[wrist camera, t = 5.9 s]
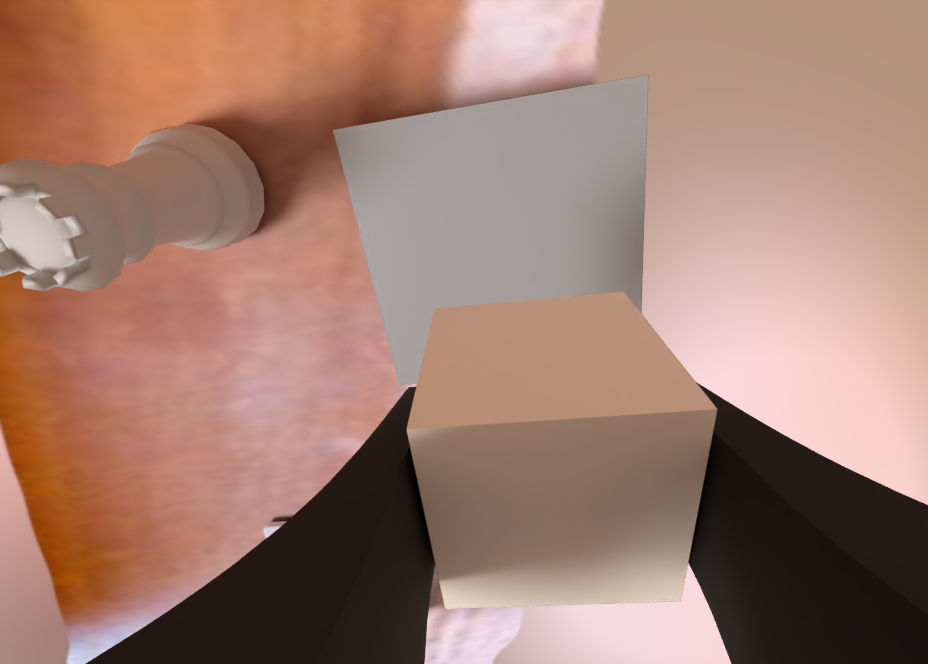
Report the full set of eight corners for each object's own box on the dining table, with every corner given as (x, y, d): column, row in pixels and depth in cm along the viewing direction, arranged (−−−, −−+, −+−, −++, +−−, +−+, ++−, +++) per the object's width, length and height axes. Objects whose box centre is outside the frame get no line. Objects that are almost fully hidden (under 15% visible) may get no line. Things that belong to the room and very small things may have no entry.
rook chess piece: (224, 101, 16) (7, 91, 8) (292, 217, 17) (162, 289, 10) (129, 153, 16) (-138, 184, 9) (204, 258, 18) (28, 351, 11)
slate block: (621, 330, 20) (640, 357, 18) (407, 356, 21) (399, 385, 18) (623, 80, 15) (648, 74, 13) (352, 127, 16) (332, 129, 14)
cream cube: (614, 439, 12) (680, 600, 8) (456, 449, 13) (445, 608, 9) (623, 291, 10) (716, 409, 6) (434, 308, 11) (406, 429, 6)
